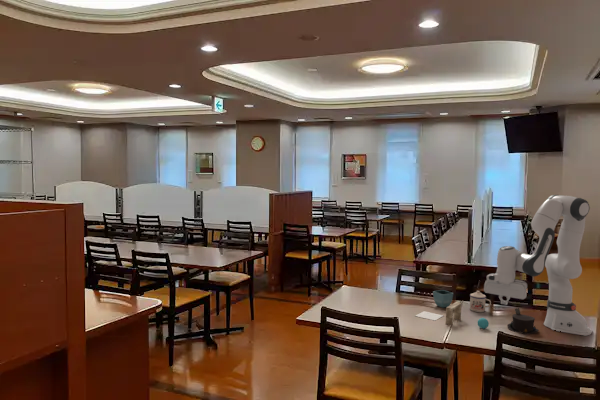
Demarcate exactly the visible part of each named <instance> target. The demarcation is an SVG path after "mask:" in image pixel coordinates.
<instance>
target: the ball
mask: <svg viewBox="0 0 600 400" xmlns="http://www.w3.org/2000/svg"><path fill="white" fill-rule="evenodd" d="M489 324H490V323H489V321H488V319H486V318H485V317H480V318H478V320H477V325H478V327H479V328H480V329H482V330H483V329H487V328H488V327H489Z"/></svg>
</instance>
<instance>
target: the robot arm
mask: <svg viewBox="0 0 600 400" xmlns="http://www.w3.org/2000/svg"><path fill="white" fill-rule="evenodd" d="M590 209H591V207H590V204H589V201H587V200H586V199H585V198H582V197H576V196H573V195H562V194H561V195H560V194H551V195H550V196H548V198H547V199H545V200H544V202H543V203H542V204H541V205H540V206H539V208H538V209H537V210H536V212H535V214H534V215H533V217H532V220H531V222H530V226H531V229H532V230H533V231H534V233H535V234H537V236H538V238H539V239H538V242H537V244H536V248H535V249H534V252H533V253H532V254H528V253H524V252H522V251H520V250H518V249H516V248H515V247H514V246H512V245H505V246H502V247H500V248H498V252H497V255H496V256H497V258H496V265H497V268H496V271H495V273H489V274H487V275H486V280H485V282H484V284H483V292H484V293H485V294H491V295H496V296H498V298H499V300H500V304H501V305H505V306H507V305H508V303H509V300H510V299H511V298H513V299H517V300H518V299H519V300H525V299H526V298H527V289H528V283H527V282H526V281H525V280H521V279H520V280H519V279H517V278H516V271H518V272H521V273H524V274H526V275H528V276H531V277H538V276H540V275H541V274H542V273H543V272H544V270H546V274H547V280H548V299H547V301H546V309H547V310H546V316H545V319H544V322H543V325H544V326H545V327H547V328H549V329H551V330H552V331H554V330H556V331H555V332H560V331H561V333H565V334H566V333H567V334H573V335H581V336H585V337H586V336H590V335H591V334H592V333H593V330H592V328H590V327H589V326H588V322H587V319H586V318H585V317H584V316H583V315H582V314H581V313H580V312H578V311H577V309H576V308H577V304H576V303H573V289H574V288H573V286H572V283H571V281H570V280H574V279H577V278H579V277H580V276H581V275H582V272H583V268H582V265H581V262H580V249H581V245H582V241H583V237H584V232H585V227H586V217H587V216H588V214H589V213H590ZM561 217H563V220H562V221H561V224H560V228H559V231H558V235H557V239H556V245H557V253H550V250H551V248H552V246H553V243H554V239H555V236H556V233H555V229H556V226H557V224H558V222H559V221H560V218H561ZM549 253H550V254H549ZM545 268H546V269H545ZM503 297H506V300H504V299H503Z"/></svg>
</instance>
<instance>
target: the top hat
mask: <svg viewBox="0 0 600 400" xmlns="http://www.w3.org/2000/svg"><path fill="white" fill-rule="evenodd" d="M514 312H515V313H514V314H512V318H511V319H512V320H511V322H510V323H508V324H507V328H508V330H510V331H512V332H514V333H519V334H521V335H532V334H537V333H538V332H539V331H540V330H539V329H538V328H537V326H536V325H534V324H535V320H536V319H535V317H533V316H530V315H526V314H521V310H520V308H519V307H517V308H514Z"/></svg>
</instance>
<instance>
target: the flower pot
mask: <svg viewBox="0 0 600 400" xmlns="http://www.w3.org/2000/svg"><path fill="white" fill-rule="evenodd" d="M432 294H433V300H434V303H435V304H436V306H438V307H440V308H442V309H444V308H446V307H448V306H450V305H452V302H453V297H454V292H451V291H448V290H445V289H439V290H434V291H432Z"/></svg>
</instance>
